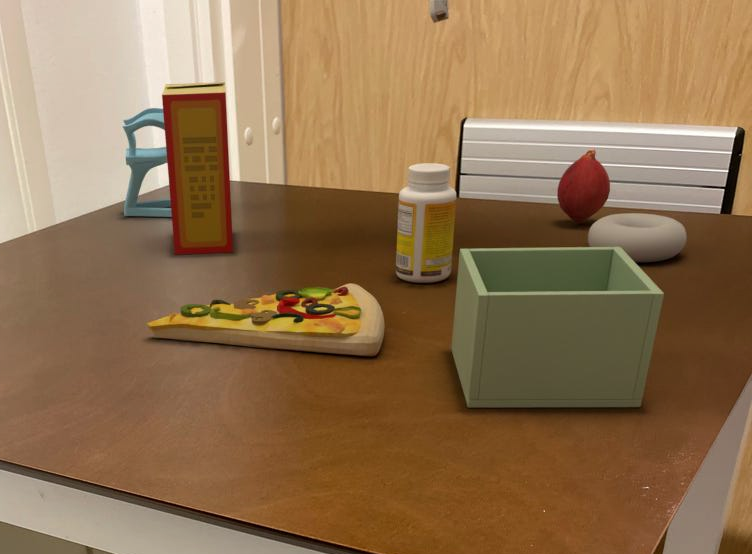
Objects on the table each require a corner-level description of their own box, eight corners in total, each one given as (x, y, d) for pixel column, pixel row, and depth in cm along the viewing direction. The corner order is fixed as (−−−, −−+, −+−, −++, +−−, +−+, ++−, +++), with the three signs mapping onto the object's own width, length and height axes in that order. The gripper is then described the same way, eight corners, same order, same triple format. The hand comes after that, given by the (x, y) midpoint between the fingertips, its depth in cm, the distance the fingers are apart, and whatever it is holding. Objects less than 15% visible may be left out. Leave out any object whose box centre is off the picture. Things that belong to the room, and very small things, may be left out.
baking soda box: (233, 252, 108) (225, 88, 99) (174, 254, 108) (161, 90, 99) (231, 231, 116) (224, 78, 107) (177, 234, 116) (165, 80, 106)
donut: (611, 239, 109) (567, 255, 103) (617, 206, 107) (573, 221, 101) (698, 253, 104) (657, 271, 98) (706, 218, 102) (664, 235, 96)
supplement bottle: (457, 272, 99) (466, 163, 93) (440, 287, 95) (448, 173, 89) (406, 267, 101) (411, 160, 96) (386, 281, 97) (391, 170, 92)
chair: (124, 207, 128) (114, 105, 121) (187, 204, 129) (180, 102, 122) (123, 220, 122) (112, 113, 115) (189, 217, 123) (182, 110, 116)
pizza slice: (395, 358, 79) (397, 321, 78) (143, 368, 79) (139, 331, 77) (370, 301, 92) (371, 269, 90) (153, 310, 92) (150, 277, 90)
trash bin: (602, 349, 80) (620, 246, 75) (640, 407, 70) (664, 293, 65) (451, 350, 81) (459, 248, 76) (467, 407, 71) (478, 295, 66)
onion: (554, 229, 113) (565, 153, 109) (551, 217, 118) (561, 144, 113) (606, 229, 112) (619, 153, 108) (601, 218, 117) (613, 144, 112)
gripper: (601, -167, 90) (606, -12, 91) (389, -92, 98) (396, 49, 99) (593, -216, 84) (599, -51, 85) (370, -132, 93) (377, 18, 93)
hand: (488, 3), depth 92 cm, fingers open, 8 cm apart
